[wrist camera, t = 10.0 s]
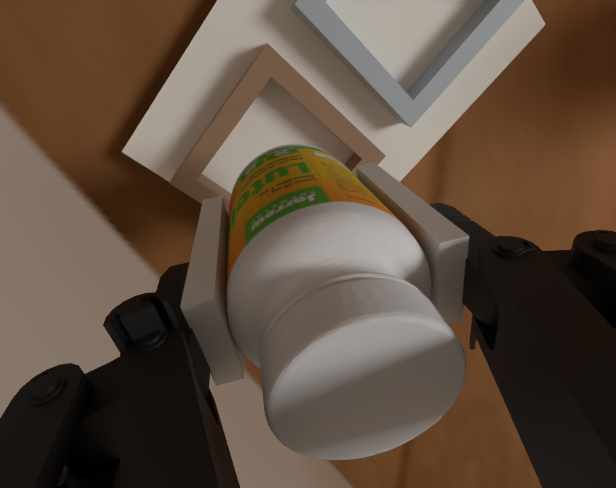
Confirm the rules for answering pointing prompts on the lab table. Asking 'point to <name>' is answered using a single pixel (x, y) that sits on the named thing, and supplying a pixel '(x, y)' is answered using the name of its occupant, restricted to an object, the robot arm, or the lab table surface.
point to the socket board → (324, 83)
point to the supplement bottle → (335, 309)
